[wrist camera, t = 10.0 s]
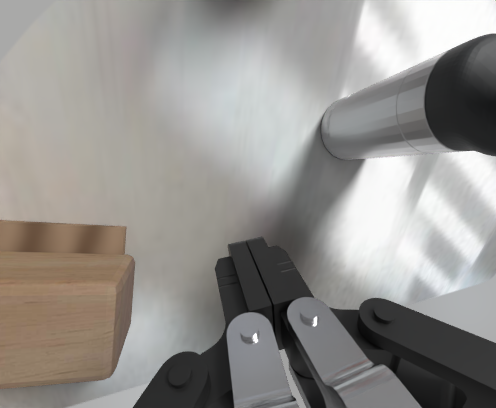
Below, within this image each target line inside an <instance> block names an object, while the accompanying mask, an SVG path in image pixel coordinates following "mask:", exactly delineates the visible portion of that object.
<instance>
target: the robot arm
mask: <svg viewBox="0 0 496 408" xmlns="http://www.w3.org/2000/svg"><path fill="white" fill-rule="evenodd" d="M321 135H322V139H323V142H324V145H325V146H326V148H327V150H328V151H329V152H330V153H331V154H332V155H334V156H335V157H337V158H339V159H344V160H352V159H368V158H381V157H394V156H408V155H421V154H433V153H446V152H459V151H477V152H480V153H483V154H486V155H491V156H496V34H488V35H484V36H480V37H477V38H475V39H472V40H470V41H468V42H465V43H463V44H461V45H459V46H457V47H454V48H452V49H451V50H448V51H446V52H444V53H442V54H439V55H437V56H435V57H433V58H431V59H428V60H426V61H424V62H422V63H420V64H418V65H416V66H413V67H411V68H409V69H407V70H404V71H402V72H400V73H398V74H396V75H393V76H391V77H389V78H387V79H385V80H382V81H380V82H378V83H376V84H373V85H371V86H369V87H367V88H365V89H362V90H360V91H358V92H356V93H353V94H351V95H349V96H347V97H345V98H342V99H340V100H338V101H336V102H335V103H333V104H332V105H331V106H330V107H329V108H328V109H327V111H326V112H325V114H324V117H323V120H322V124H321ZM228 250H229V257H225V258H221V259H218V261H217V264H216V267H215V271H216V276H217V281H218V287H219V292H220V297H221V302H222V306H223V311H224V316H225V321H226V327H225V331H224V333H223V335H222V337H221V338H220V340H219V341H218V342H217V343H216V344H215V345H214V346H212V347H211V348H210V349H208V350H207V351H205V352H204V353H202V354H201V355H199V354H197V353H194V352H189V351H188V352H181V353H178V354H176V355H174V356H172V357H171V358H169V359H168V360H167V361H166V362H165V363H164V364H163V365H162V367H161V368H160V369H159V371H158V372H157V374H156V375H155V376H154V378H153V379H152V381H151V382H150V384H149V385H148V387H147V388H146V389H145V391H144V392H143V394H142V395H141V397H140V398H139V399H138V401H137V402H136V404H135V405H134V407H133V408H299V406H298V404H297V401H296V399H295V398H294V397H293V396H292V393H291V390H290V387H289V384H288V380H287V377H286V373H285V370H284V366H283V363H282V359H281V356H280V353H279V350H282V349H285V351H286V354H287V357H288V359H289V370H290V373H291V375H292V377H293V380H294V382H295V384H296V386H297V388H298V390H299V393H300V395H301V397H302V399H303V401H304V403H305V405H306V408H496V343H494V342H491V341H489V340H487V339H484V338H481V337H479V336H476V335H474V334H472V333H469V332H466V331H464V330H461V329H459V328H456V327H454V326H451V325H449V324H446V323H444V322H441V321H439V320H436V319H434V318H431V317H429V316H426V315H424V314H421V313H419V312H416V311H414V310H411V309H409V308H406V307H404V306H401V305H399V304H396V303H394V302H391V301H389V300H386V299H381V298H371V299H368V300H366V301H364V302H363V303H362V304H361V306H360V308H359V310H340V309H333V308H330V307H328V306H327V305H326V304H325V303H324V302H322V301H321V300H318V299H316V298H314V296H313V295H312V293H311V291H310V290H309V288H308V287H307V285H306V283H305V282H304V280H303V279H302V277H301V275H300V274H299V272H298V271H297V269H296V268H295V266H294V264H293V262H291V259H290V258H289V256H288V254H287V253H286V251H284V250H283V249H281V248H280V247H278V246H272V247H268V246H267V244H266V242H265V240H264V239H263V237H258V238H254V239H250V240H246V241H241V242H236V243H232V244H228Z"/></svg>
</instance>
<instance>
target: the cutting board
mask: <svg viewBox="0 0 496 408" xmlns="http://www.w3.org/2000/svg"><path fill="white" fill-rule="evenodd" d="M125 238H126V227H121V226H102V225H83V224H63V223H44V222H24V221H5V220H0V251H9V252H45V253H82V254H118V255H124V254H125Z"/></svg>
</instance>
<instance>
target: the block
mask: <svg viewBox="0 0 496 408" xmlns="http://www.w3.org/2000/svg"><path fill="white" fill-rule="evenodd" d="M134 270H135V261H134V259H133V257H132V256H129V255H118V254H82V253H45V252H9V251H0V389H6V388H17V387H29V386H40V385H52V384H63V383H75V382H86V381H98V380H104V379H107V378H109V377H110V376H111V375H112V374H113V372H114V370H115V369H116V366H117V363H118V360H119V357H120V354H121V351H122V348H123V345H124V342H125V339H126V336H127V333H128V330H129V327H130V324H131V312H132V298H133V284H134Z"/></svg>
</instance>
